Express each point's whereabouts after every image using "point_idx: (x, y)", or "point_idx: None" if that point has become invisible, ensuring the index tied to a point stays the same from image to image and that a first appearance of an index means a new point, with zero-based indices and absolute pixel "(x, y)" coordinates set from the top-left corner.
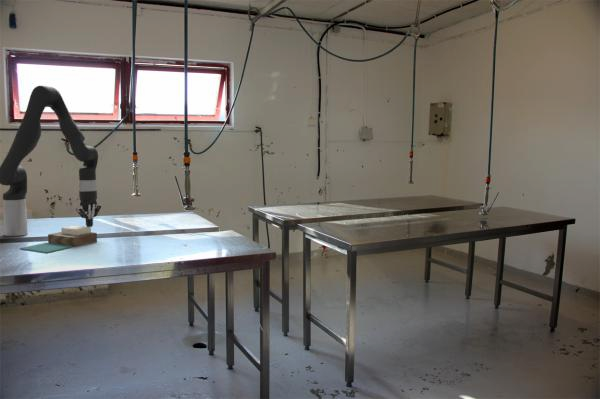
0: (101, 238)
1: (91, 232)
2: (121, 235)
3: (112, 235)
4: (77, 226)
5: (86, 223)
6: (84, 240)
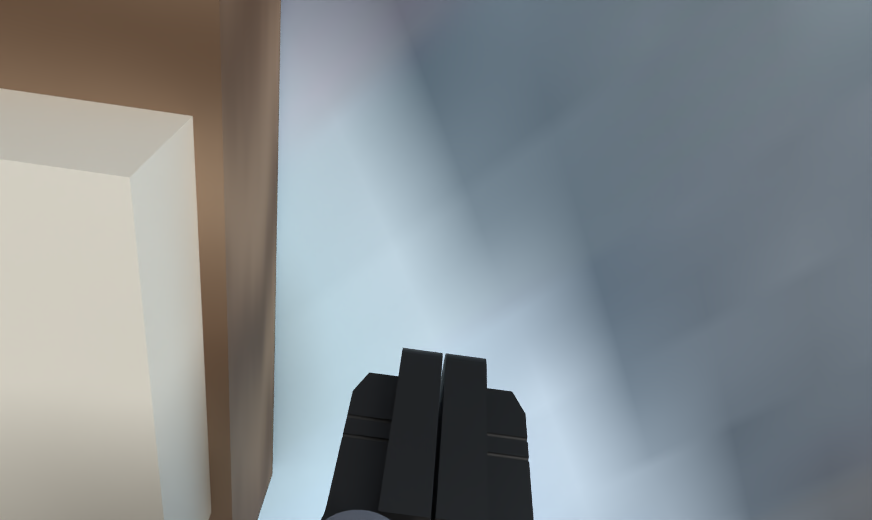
0: (529, 379)
1: (228, 511)
2: (825, 493)
3: (811, 390)
4: (60, 355)
5: (346, 435)
6: None
